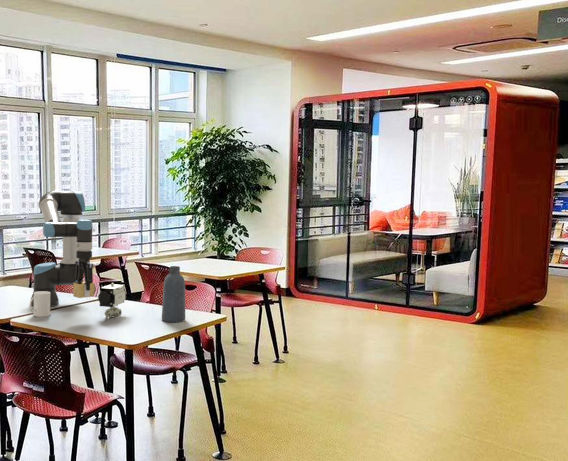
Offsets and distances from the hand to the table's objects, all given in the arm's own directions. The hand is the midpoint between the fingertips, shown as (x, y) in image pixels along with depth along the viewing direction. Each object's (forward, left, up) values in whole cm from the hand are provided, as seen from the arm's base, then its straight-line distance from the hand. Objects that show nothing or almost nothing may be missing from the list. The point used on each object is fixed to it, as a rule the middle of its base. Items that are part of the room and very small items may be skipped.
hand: (83, 295), depth 313 cm
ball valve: (0, +17, -13) cm, 22 cm away
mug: (-24, -12, -13) cm, 30 cm away
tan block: (0, 0, 0) cm, 0 cm away
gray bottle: (+26, +37, -13) cm, 47 cm away
